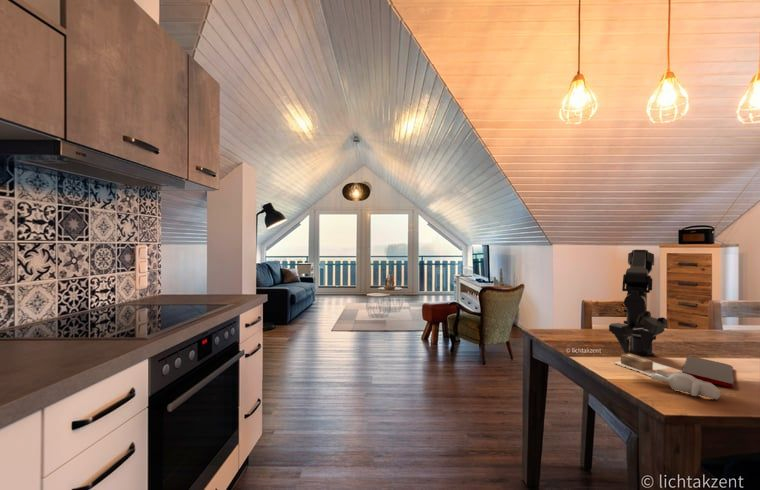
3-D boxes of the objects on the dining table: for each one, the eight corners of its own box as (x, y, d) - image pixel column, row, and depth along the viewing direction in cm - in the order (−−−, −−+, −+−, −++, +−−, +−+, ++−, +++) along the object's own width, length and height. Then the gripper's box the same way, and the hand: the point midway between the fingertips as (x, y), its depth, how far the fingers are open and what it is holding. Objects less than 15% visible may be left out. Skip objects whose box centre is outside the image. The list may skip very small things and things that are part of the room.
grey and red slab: (733, 364, 125) (734, 384, 107) (732, 369, 125) (733, 389, 107) (687, 354, 133) (680, 371, 115) (686, 358, 133) (680, 375, 115)
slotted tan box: (620, 363, 128) (620, 354, 128) (630, 362, 130) (630, 353, 130) (642, 371, 121) (642, 361, 121) (652, 369, 122) (652, 360, 122)
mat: (614, 364, 130) (614, 362, 130) (643, 360, 133) (643, 358, 133) (663, 381, 113) (663, 379, 113) (694, 376, 117) (694, 374, 117)
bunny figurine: (717, 391, 96) (650, 369, 108) (714, 409, 97) (647, 385, 109) (724, 382, 102) (660, 362, 114) (721, 399, 103) (657, 378, 114)
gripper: (638, 313, 115) (638, 362, 115) (681, 310, 120) (680, 356, 120) (607, 307, 126) (607, 351, 126) (647, 304, 131) (647, 347, 131)
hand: (636, 352), depth 125 cm, fingers open, 9 cm apart
